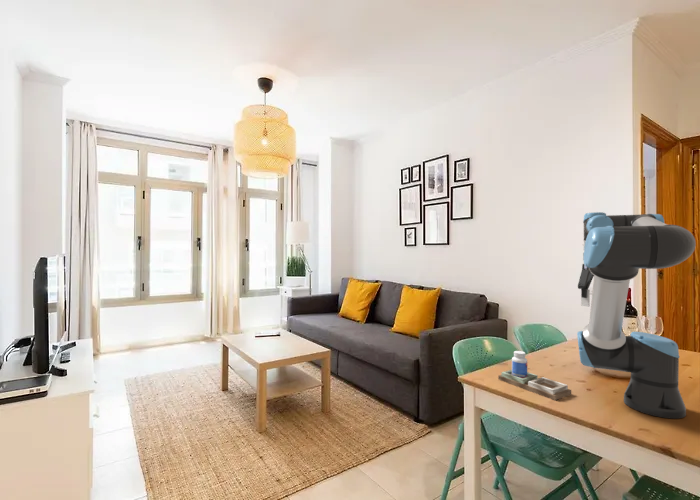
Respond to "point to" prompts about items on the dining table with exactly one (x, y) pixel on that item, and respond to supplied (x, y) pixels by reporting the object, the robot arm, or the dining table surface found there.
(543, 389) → the board
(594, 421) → the dining table surface
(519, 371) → the pill bottle
